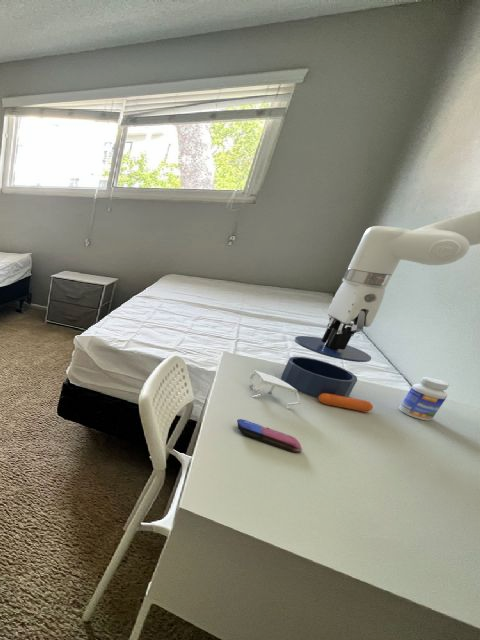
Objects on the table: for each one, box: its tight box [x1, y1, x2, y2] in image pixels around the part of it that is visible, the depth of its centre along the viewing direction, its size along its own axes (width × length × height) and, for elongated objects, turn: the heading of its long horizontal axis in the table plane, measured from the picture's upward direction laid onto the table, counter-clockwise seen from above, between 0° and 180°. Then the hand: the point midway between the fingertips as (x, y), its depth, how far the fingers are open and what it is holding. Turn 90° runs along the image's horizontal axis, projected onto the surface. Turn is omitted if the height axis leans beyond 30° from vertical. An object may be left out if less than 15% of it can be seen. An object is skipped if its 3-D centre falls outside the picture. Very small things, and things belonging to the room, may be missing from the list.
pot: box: [280, 356, 358, 399], centre depth 95 cm, size 14×14×6 cm
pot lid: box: [294, 328, 372, 363], centre depth 91 cm, size 15×15×6 cm
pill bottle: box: [398, 376, 450, 421], centre depth 85 cm, size 5×5×10 cm
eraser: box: [236, 418, 303, 453], centre depth 73 cm, size 11×4×2 cm, turn 56°
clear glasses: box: [249, 369, 302, 410], centre depth 89 cm, size 12×8×5 cm
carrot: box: [318, 393, 374, 413], centre depth 87 cm, size 3×3×10 cm
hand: (332, 344), depth 92 cm, fingers closed on pot lid, 2 cm apart
